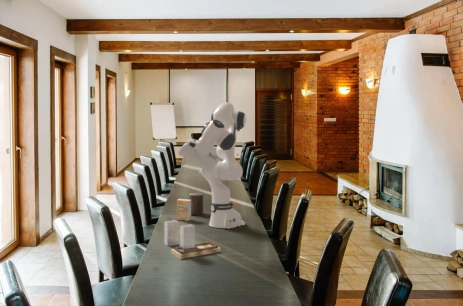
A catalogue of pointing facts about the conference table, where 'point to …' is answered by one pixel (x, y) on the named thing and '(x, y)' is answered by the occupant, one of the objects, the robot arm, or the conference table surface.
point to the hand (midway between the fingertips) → (189, 169)
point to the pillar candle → (196, 203)
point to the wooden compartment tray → (196, 250)
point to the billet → (187, 237)
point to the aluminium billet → (171, 232)
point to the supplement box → (183, 209)
